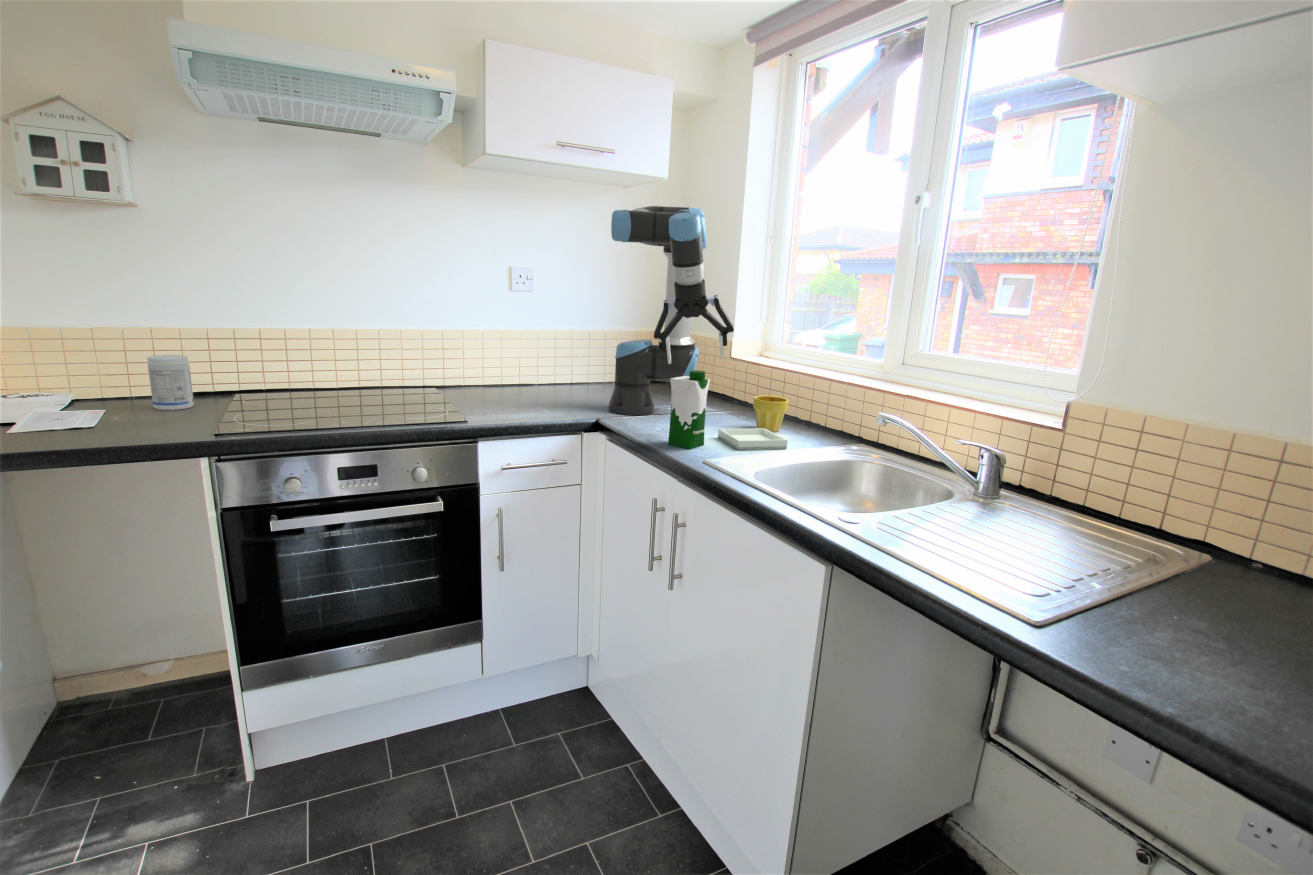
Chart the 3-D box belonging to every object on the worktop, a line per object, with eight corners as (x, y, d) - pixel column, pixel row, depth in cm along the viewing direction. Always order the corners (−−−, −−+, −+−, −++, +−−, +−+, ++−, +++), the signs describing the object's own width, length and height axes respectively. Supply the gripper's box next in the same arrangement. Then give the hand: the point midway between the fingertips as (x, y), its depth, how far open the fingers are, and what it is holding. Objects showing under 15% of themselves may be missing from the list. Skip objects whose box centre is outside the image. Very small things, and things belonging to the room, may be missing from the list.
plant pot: (785, 435, 193) (788, 402, 191) (750, 431, 195) (752, 399, 193) (785, 428, 203) (788, 397, 201) (752, 425, 205) (754, 394, 203)
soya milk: (691, 450, 169) (696, 374, 164) (662, 444, 174) (666, 370, 169) (708, 445, 176) (714, 371, 171) (680, 439, 181) (685, 367, 177)
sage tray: (718, 437, 185) (718, 429, 185) (763, 436, 189) (764, 428, 189) (738, 450, 172) (739, 441, 172) (786, 448, 176) (787, 439, 176)
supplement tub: (165, 404, 191) (159, 354, 188) (200, 404, 193) (195, 355, 190) (145, 410, 182) (138, 358, 179) (183, 411, 184) (177, 359, 180)
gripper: (637, 290, 156) (647, 369, 167) (742, 280, 154) (745, 361, 166) (639, 280, 163) (648, 357, 174) (739, 270, 161) (742, 349, 172)
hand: (695, 359), depth 170 cm, fingers open, 13 cm apart
